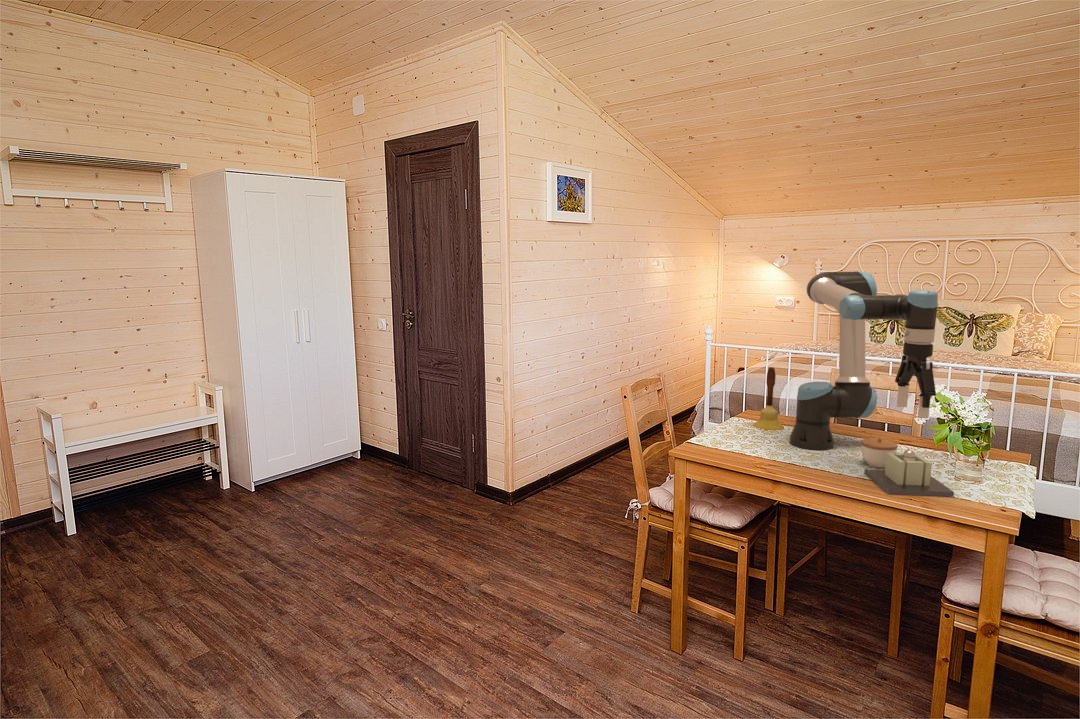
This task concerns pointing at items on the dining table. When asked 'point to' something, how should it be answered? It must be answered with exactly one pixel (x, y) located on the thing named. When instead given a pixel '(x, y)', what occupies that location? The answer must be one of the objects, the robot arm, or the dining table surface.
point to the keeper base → (895, 489)
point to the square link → (908, 470)
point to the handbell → (769, 407)
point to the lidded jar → (877, 451)
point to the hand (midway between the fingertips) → (911, 412)
